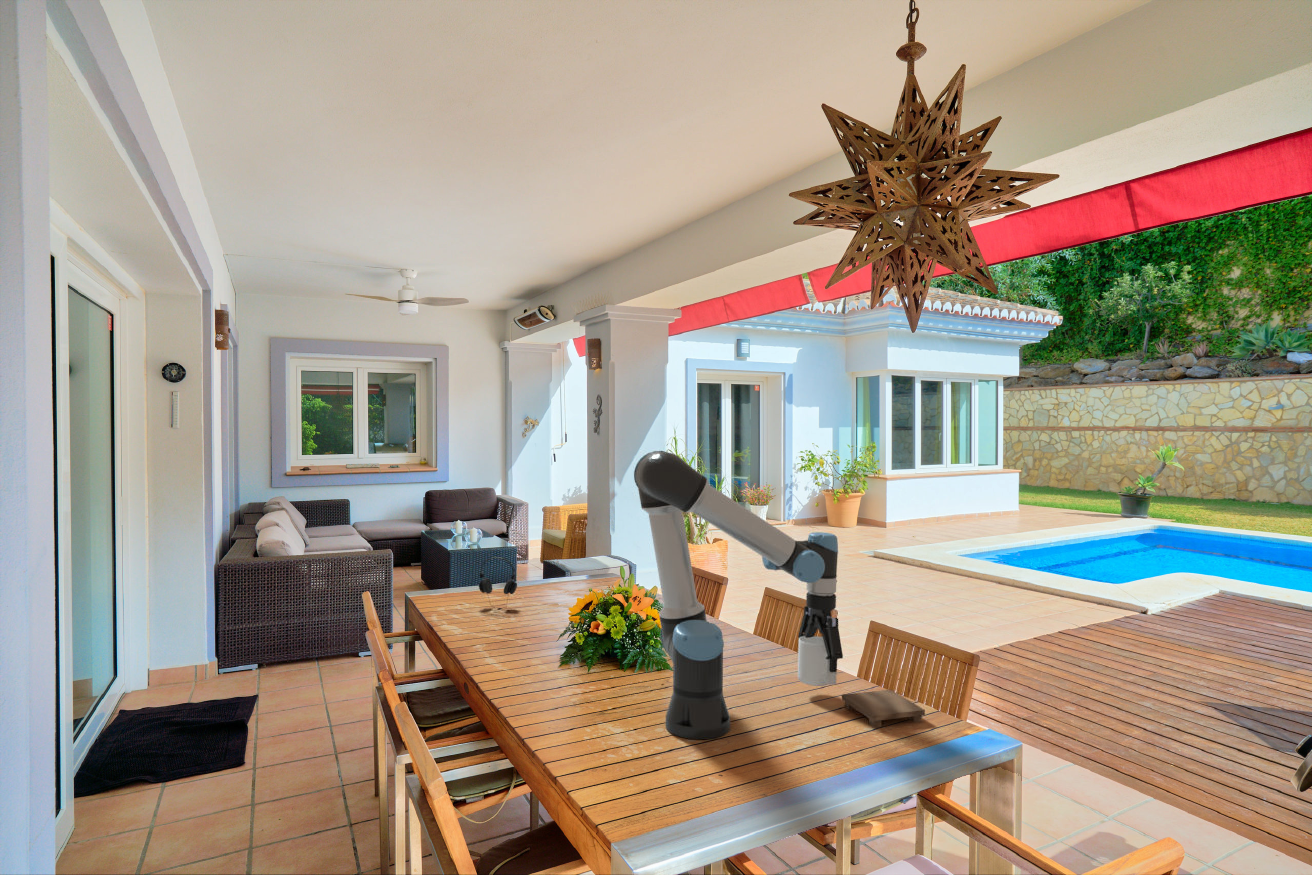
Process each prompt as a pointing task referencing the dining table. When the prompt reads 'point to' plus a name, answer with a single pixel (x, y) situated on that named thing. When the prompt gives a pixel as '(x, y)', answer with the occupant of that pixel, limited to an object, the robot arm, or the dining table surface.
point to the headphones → (487, 585)
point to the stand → (883, 706)
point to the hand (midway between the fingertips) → (818, 675)
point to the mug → (812, 661)
